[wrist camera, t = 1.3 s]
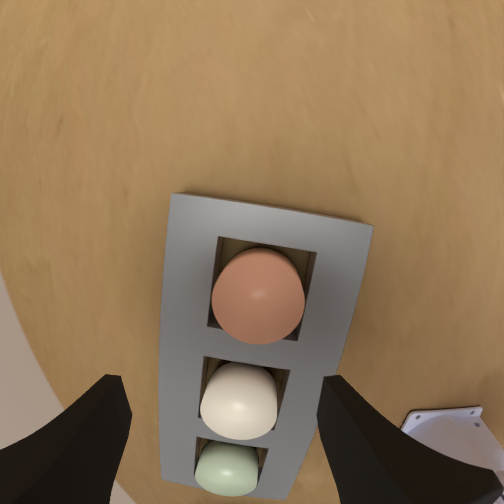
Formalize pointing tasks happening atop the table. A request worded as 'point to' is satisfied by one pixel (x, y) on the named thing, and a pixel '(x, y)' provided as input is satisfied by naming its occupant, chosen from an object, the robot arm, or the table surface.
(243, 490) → the button sage
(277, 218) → the button board
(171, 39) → the table surface
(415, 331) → the table surface
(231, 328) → the button terracotta
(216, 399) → the button cream
